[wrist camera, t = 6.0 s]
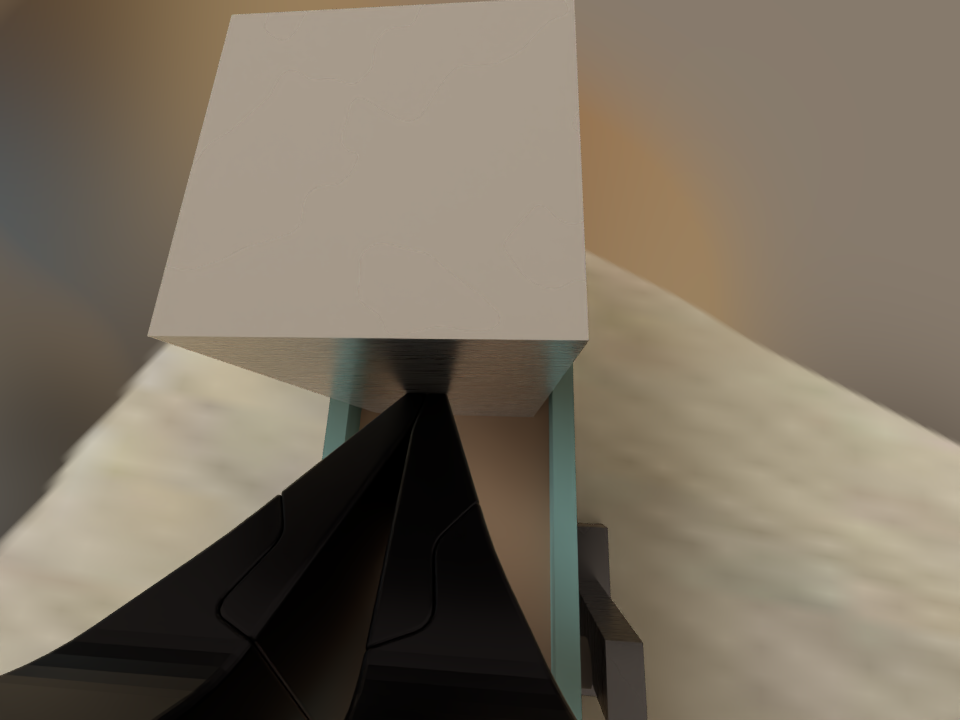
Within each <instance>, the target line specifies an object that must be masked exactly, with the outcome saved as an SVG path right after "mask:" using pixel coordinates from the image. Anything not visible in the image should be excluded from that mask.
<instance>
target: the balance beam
mask: <svg viewBox="0 0 960 720" xmlns="http://www.w3.org/2000/svg"><path fill="white" fill-rule="evenodd" d="M380 414H381V413H375V412H372V411H369V410H366V409H363V408H360V407H357V406H354V405H351V404H348V403H345V402H342V401H339V400H336V399H333V398H330V405H329V413H328V420H327V427H326V435H325V442H324V449H323V457H322V460H323V459H324V458H325V457H327V456H328V455H329V454H330V453H332V452H333V451H334V450H335V449H337V448H338V447H339V446H340V445H342V444H343V443H344V442H345V441H347V440H348V439H349V438H351V437H352V436H353V435H354V434H356V433H357V432H358V431H359V430H361V429H362V428H363V427H364V426H366V425H367V424H368V423H370V422H371V421H372V420H373V419H375V418H376V417H377V416H378V415H380ZM454 419H455V422H456V425H457V429H458V432H459V435H460V439H461V442H462V445H463V449H464V452H465V456H466V459H467V462H468V466H469V469H470V472H471V476H472V479H473V482H474V486H475V489H476V492H477V496H478V499H479V504H480V506H481V508H482V512H483V515H484V518H485V522H486V525H487V528H488V531H489V534H490V537H491V539H492V542H493V545H494V548H495V551H496V553H497V555H498V558H499V560H500V563H501V565H502V567H503V570H504V572H505V574H506V577H507V579H508V581H509V583H510V586H511V588H512V590H513V592H514V594H515V596H516V598H517V601H518V603H519V605H520V607H521V609H522V611H523V613H524V615H525V618H526V620H527V622H528V624H529V626H530V628H531V630H532V633H533V635H534V637H535V639H536V641H537V643H538V645H539V648H540V650H541V652H542V654H543V656H544V658H545V660H546V662H547V664H548V666H549V668H550V670H551V672H552V674H553V676H554V678H555V680H556V682H557V684H558V686H559V688H560V690H561V692H562V694H563V696H564V698H565V699H566V701H567V703H568V705H569V707H570V708H571V710H572V712H573V714H574V715H575V717H576V719H577V720H582V701H581V688H583V689H591V687H592V663H591V654H590V648H589V644H588V640H587V638H586V637H582V636H580V624H579V585H578V546H577V508H576V469H575V431H574V392H573V363H572V364H571V366H570V367H569V369H568V370H567V371H566V373H565V374H564V375H563V377H562V378H561V380H560V381H559V382H558V384H557V385H556V386H555V388H554V389H553V391H552V392H551V393H550V395H549V396H548V397H547V399H546V400H545V402H544V403H543V404H542V406H541V407H540V409H539V410H538V411H537V413H536V414H535V415H534V417H512V416H471V415H454Z"/></svg>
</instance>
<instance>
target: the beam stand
mask: <svg viewBox="0 0 960 720" xmlns="http://www.w3.org/2000/svg"><path fill="white" fill-rule="evenodd" d="M577 546H578V585H579V624H580V636H582V637H586V638H587V640H588V644H589V648H590V654H591V663H592V687H591V689H583V688H581V695H588V696H597V698H598V701H599V704H600V706H601V709H602V712H603V714H604V717H605V720H647V705H646V688H645V671H644V654H643V642H642V641H641V640H640V638H639V637H638V636H637V634H636V633H635V631H634V630H633V629H632V627H631V626H630V625H629V623H628V622H627V620H626V619H625V618H624V616H623V615H622V614H621V612H620V611H619V609H618V608H617V607H616V605H615V604H614V602H613V601H612V600H611V598H610V575H609V552H608V528H607V527H606V526H604V525H603V524H588V523H577Z"/></svg>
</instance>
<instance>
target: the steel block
mask: <svg viewBox="0 0 960 720" xmlns="http://www.w3.org/2000/svg"><path fill="white" fill-rule="evenodd" d="M577 76H578V75H577V53H576V29H575V6H574V0H501V1H484V2H463V3H445V4H426V5H408V6H389V7H371V8H370V7H369V8H351V9H332V10H314V11H294V12H276V13H257V14H240V15H239V14H238V15H232V16H231V21H230V24H229V28H228V32H227V36H226V40H225V43H224V47H223V51H222V54H221V58H220V63H219V66H218V70H217V74H216V77H215V81H214V85H213V89H212V92H211V96H210V100H209V104H208V108H207V111H206V115H205V119H204V123H203V127H202V130H201V134H200V138H199V142H198V146H197V149H196V153H195V157H194V161H193V165H192V168H191V172H190V176H189V180H188V184H187V187H186V191H185V195H184V199H183V202H182V206H181V211H180V214H179V218H178V222H177V225H176V229H175V233H174V237H173V240H172V244H171V249H170V252H169V256H168V260H167V263H166V267H165V271H164V275H163V278H162V282H161V286H160V290H159V294H158V297H157V301H156V305H155V309H154V313H153V316H152V320H151V324H150V328H149V332H148V335H147V336H149V337H152V338H155V339H158V340H161V341H164V342H167V343H170V344H173V345H176V346H179V347H182V348H185V349H188V350H191V351H194V352H197V353H200V354H203V355H206V356H209V357H212V358H214V359H217V360H220V361H223V362H226V363H229V364H232V365H235V366H238V367H241V368H244V369H247V370H250V371H253V372H256V373H259V374H262V375H265V376H268V377H271V378H274V379H277V380H280V381H283V382H286V383H289V384H292V385H295V386H298V387H301V388H304V389H307V390H310V391H312V392H315V393H318V394H321V395H324V396H327V397H330V398H333V399H336V400H339V401H342V402H345V403H348V404H351V405H354V406H357V407H360V408H363V409H366V410H369V411H372V412H375V413H382V412H383V411H385V410H386V409H387V408H389V407H390V406H391V405H392V404H394V403H395V402H396V401H397V400H399V399H400V398H401V397H402V396H404V395H405V394H406V393H425V394H428V393H441V394H447V395H448V399H449V402H450V405H451V409H452V412H453V415H471V416H512V417H534V415H535V414H536V413H537V411H538V410H539V409H540V407H541V406H542V404H543V403H544V402H545V400H546V399H547V397H548V396H549V395H550V393H551V392H552V391H553V389H554V388H555V386H556V385H557V384H558V382H559V381H560V380H561V378H562V377H563V375H564V374H565V373H566V371H567V370H568V369H569V367H570V366H571V364H572V363H573V362H574V360H575V359H576V357H577V356H578V355H579V353H580V352H581V351H582V349H583V348H584V346H585V345H586V344H587V342H588V341H589V331H588V308H587V285H586V261H585V239H584V215H583V194H582V193H583V192H582V170H581V146H580V122H579V98H578V77H577Z"/></svg>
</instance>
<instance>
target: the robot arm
mask: <svg viewBox="0 0 960 720" xmlns="http://www.w3.org/2000/svg"><path fill="white" fill-rule="evenodd" d="M281 495H282V496H281ZM281 495H277V496H276V497H274V498H273V499H272V500H271V501H269V502H268V503H267V504H266V505H264V506H263V507H262V508H260V509H259V510H258V511H257V512H255V513H254V514H253V515H251V516H250V517H249V518H247V519H246V520H245V521H243V522H242V523H241V524H239V525H238V526H237V527H235V528H234V529H233V530H232V531H230V532H229V533H228V534H226V535H225V536H223V537H222V538H220V539H219V540H218V541H216V542H215V543H213V544H212V545H211V546H209V547H208V548H206V549H205V550H203V551H202V552H201V553H199V554H198V555H196V556H195V557H194V558H192V559H191V560H189V561H188V562H186V563H185V564H183V565H182V566H180V567H179V568H178V569H176V570H175V571H173V572H172V573H170V574H169V575H167V576H166V577H164V578H163V579H161V580H160V581H159V582H157V583H156V584H154V585H153V586H151V587H150V588H148V589H147V590H145V591H144V592H142V593H141V594H140V595H138V596H137V597H135V598H134V599H132V600H131V601H129V602H128V603H126V604H125V605H124V606H122V607H121V608H119V609H118V610H116V611H115V612H113V613H112V614H110V615H109V616H107V617H106V618H105V619H103V620H102V621H100V622H99V623H97V624H96V625H94V626H93V627H91V628H90V629H88V630H87V631H85V632H84V633H82V634H80V635H79V636H77V637H76V638H74V639H73V640H71V641H69V642H68V643H66V644H64V645H62V646H61V647H59V648H57V649H55V650H54V651H52V652H50V653H48V654H46V655H44V656H42V657H40V658H38V659H36V660H34V661H33V662H31V663H29V664H27V665H24V666H22V667H19V668H17V669H15V670H12V671H10V672H8V673H5V674H3V675H1V676H0V720H577V719H576V717H575V715H574V714H573V712H572V710H571V708H570V707H569V705H568V703H567V701H566V699H565V698H564V696H563V694H562V692H561V690H560V688H559V686H558V684H557V682H556V680H555V678H554V676H553V674H552V672H551V670H550V668H549V666H548V664H547V662H546V660H545V658H544V656H543V654H542V652H541V650H540V648H539V645H538V643H537V641H536V639H535V637H534V635H533V633H532V630H531V628H530V626H529V624H528V622H527V620H526V618H525V615H524V613H523V611H522V609H521V607H520V605H519V603H518V601H517V598H516V596H515V594H514V592H513V590H512V588H511V586H510V583H509V581H508V579H507V577H506V574H505V572H504V570H503V567H502V565H501V563H500V560H499V558H498V555H497V553H496V551H495V548H494V545H493V542H492V539H491V537H490V534H489V531H488V528H487V525H486V522H485V518H484V515H483V512H482V508H481V506H480V504H479V499H478V496H477V492H476V489H475V486H474V482H473V479H472V476H471V472H470V469H469V466H468V462H467V459H466V456H465V452H464V449H463V445H462V442H461V439H460V435H459V432H458V429H457V425H456V422H455V419H454V415H453V412H452V409H451V405H450V402H449V399H448V395H447V394H441V393H428V394H425V393H406V394H405V395H404V396H402V397H401V398H400V399H399V400H397V401H396V402H395V403H394V404H392V405H391V406H390V407H389V408H387V409H386V410H385V411H383V412H382V413H381V414H380V415H378V416H377V417H376V418H375V419H373V420H372V421H371V422H370V423H368V424H367V425H366V426H364V427H363V428H362V429H361V430H359V431H358V432H357V433H356V434H354V435H353V436H352V437H351V438H349V439H348V440H347V441H345V442H344V443H343V444H342V445H340V446H339V447H338V448H337V449H335V450H334V451H333V452H332V453H330V454H329V455H328V456H327V457H325V458H324V459H323V460H321V461H320V462H319V463H318V464H316V465H315V466H314V467H313V468H311V469H310V470H309V471H308V472H306V473H305V474H304V475H302V476H301V477H300V478H299V479H297V480H296V481H295V482H294V483H292V484H291V485H290V486H289V487H287V488H286V489H285V490H283V491H282V493H281Z"/></svg>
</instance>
